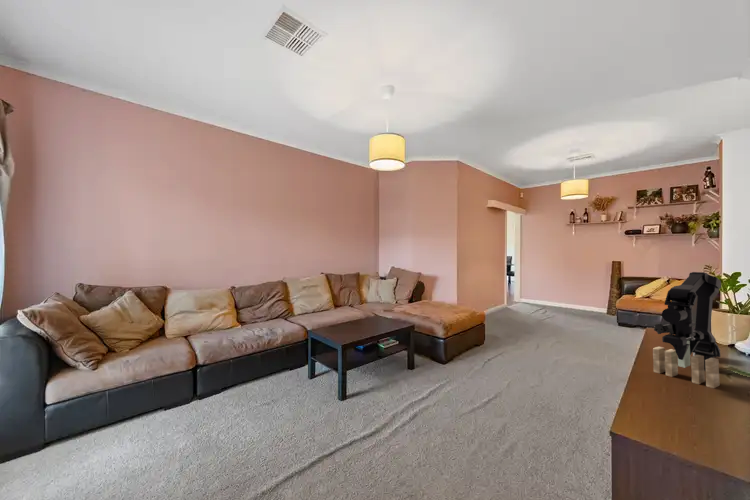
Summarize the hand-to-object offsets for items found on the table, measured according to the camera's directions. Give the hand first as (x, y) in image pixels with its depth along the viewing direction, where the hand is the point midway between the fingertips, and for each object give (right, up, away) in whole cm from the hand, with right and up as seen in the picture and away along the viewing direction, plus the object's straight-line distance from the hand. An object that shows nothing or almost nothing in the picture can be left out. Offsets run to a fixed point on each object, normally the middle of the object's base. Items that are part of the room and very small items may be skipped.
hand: (684, 358), depth 124 cm
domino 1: (-3, -8, +7) cm, 11 cm away
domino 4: (+2, -8, -4) cm, 9 cm away
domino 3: (0, -3, 0) cm, 3 cm away
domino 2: (-1, -8, +4) cm, 9 cm away
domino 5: (+4, -8, -7) cm, 11 cm away
